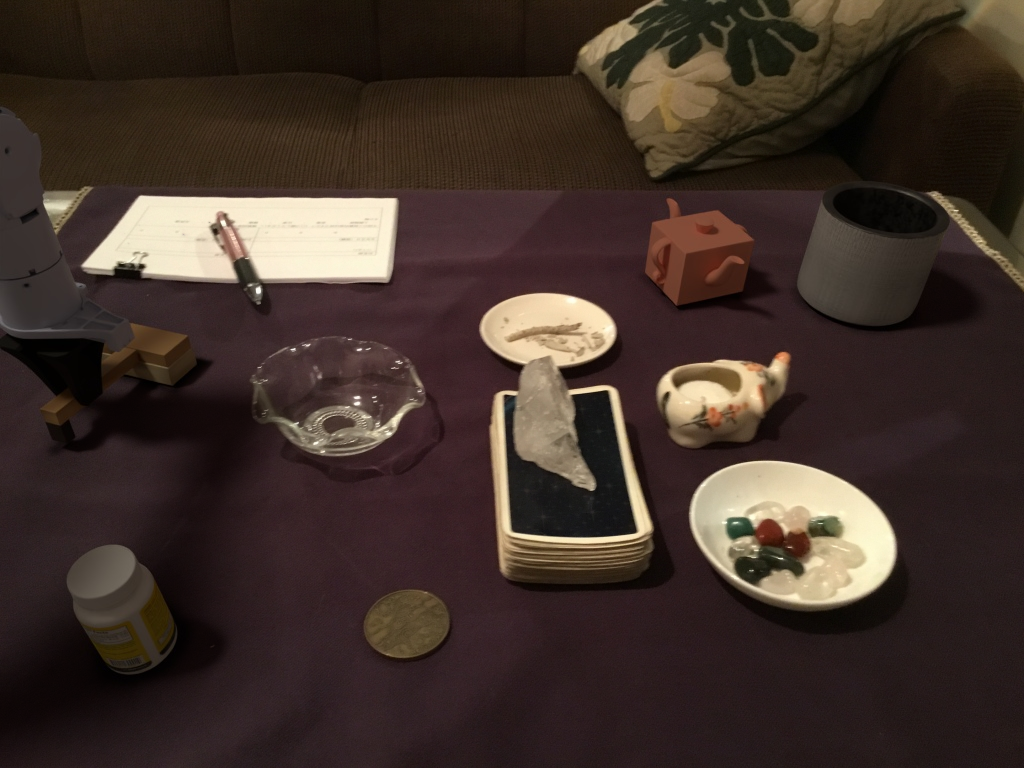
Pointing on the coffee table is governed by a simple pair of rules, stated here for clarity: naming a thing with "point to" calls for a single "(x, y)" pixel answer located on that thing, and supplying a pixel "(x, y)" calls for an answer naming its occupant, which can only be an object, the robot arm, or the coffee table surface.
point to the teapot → (698, 255)
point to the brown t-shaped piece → (127, 372)
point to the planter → (871, 252)
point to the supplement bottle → (121, 609)
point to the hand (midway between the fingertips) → (81, 396)
